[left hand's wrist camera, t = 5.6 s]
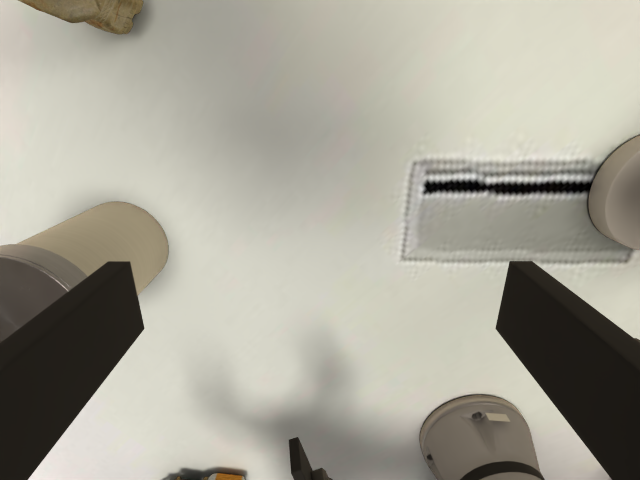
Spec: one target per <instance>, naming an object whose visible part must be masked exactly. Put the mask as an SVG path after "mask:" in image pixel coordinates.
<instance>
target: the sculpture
mask: <svg viewBox="0 0 640 480" xmlns="http://www.w3.org/2000/svg"><path fill="white" fill-rule="evenodd" d="M19 1H21V2H23V3H25V4H27V5H29V6H31V7H33V8H35V9H37V10H39V11H42V12H45V13H48V14H50V15H53V16H55V17H58V18H60V19H62V20H65V21H67V22H70V23H79V22H84V21H85V22H86V23H88V24H90V25H92V26H94V27H96V28H99V29H102V30H104V31H107V32H111V33H115V34H123V33H124V34H128V33H129V31H130V30H131V28H132V27H133V22H132V19H133V17H134V15H135V14H138V13H140V11H141V8H142V5H143V1H142V0H19Z"/></svg>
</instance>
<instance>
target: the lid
mask: <svg viewBox="0 0 640 480" xmlns="http://www.w3.org/2000/svg"><path fill="white" fill-rule="evenodd" d="M87 277H88V276H87V275H86V274H85V273H84V272H83V271H82V270H80V269H79V268H78V267H77V266H76V265H74V264H73V263H71V262H70V261H69V260H67V259H65V258H63V257H62V256H60V255H58V254H56V253H53V252H51V251H49V250H46V249H43V248H40V247H35V246H31V245H22V244H9V245H2V246H0V342H1V341H3V340H5V339H6V338H7V337H9V336H10V335H11V334H13V333H14V332H15V331H17V330H18V329H19V328H21V327H22V326H23V325H25V324H26V323H27V322H29V321H30V320H31V319H32V318H34V317H35V316H36V315H38V314H39V313H40V312H42V311H43V310H44V309H46V308H47V307H48V306H50V305H51V304H52V303H54V302H55V301H56V300H58V299H59V298H60V297H62V296H63V295H64V294H66V293H67V292H68V291H70V290H71V289H72V288H73V287H75V286H76V285H77V284H79V283H80V282H81V281H83V280H84V279H85V278H87Z"/></svg>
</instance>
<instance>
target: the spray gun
mask: <svg viewBox="0 0 640 480" xmlns="http://www.w3.org/2000/svg"><path fill="white" fill-rule="evenodd" d="M176 480H188V479H183V478H181V477H177V479H176ZM203 480H245V478H244V476H239V475H231V474H222V473H215V474H212V475H211V476H210V477H209V478H208V477H204V479H203Z"/></svg>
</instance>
